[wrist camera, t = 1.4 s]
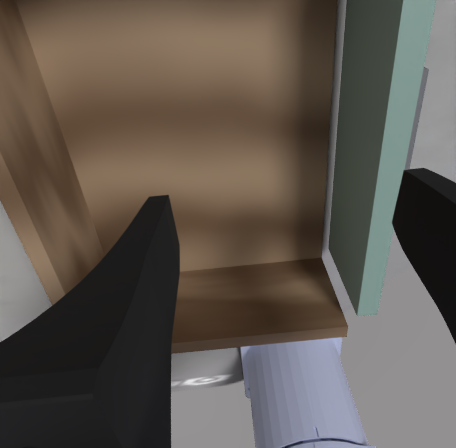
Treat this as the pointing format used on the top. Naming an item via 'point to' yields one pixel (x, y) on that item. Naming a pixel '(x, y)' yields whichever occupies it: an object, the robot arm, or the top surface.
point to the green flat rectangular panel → (375, 135)
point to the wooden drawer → (177, 151)
